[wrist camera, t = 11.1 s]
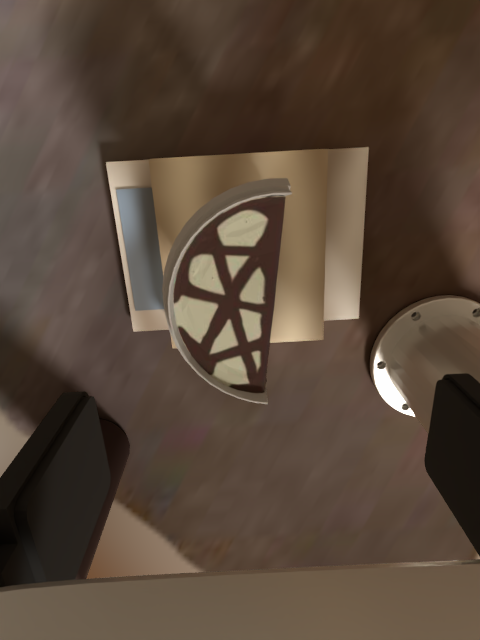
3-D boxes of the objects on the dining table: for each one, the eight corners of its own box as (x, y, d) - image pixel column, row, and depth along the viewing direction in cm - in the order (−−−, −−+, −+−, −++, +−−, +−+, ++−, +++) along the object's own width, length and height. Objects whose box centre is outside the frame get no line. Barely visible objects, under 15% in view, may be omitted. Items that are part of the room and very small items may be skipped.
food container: (181, 166, 27) (155, 169, 18) (272, 173, 27) (293, 179, 18) (178, 334, 32) (156, 406, 22) (256, 338, 32) (267, 412, 23)
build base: (362, 147, 32) (388, 145, 27) (353, 312, 37) (373, 336, 32) (111, 162, 32) (88, 162, 27) (137, 325, 37) (122, 351, 32)
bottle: (50, 439, 42) (-95, 664, 23) (98, 404, 40) (-16, 614, 22) (97, 479, 44) (-1, 716, 25) (144, 448, 42) (76, 673, 24)
